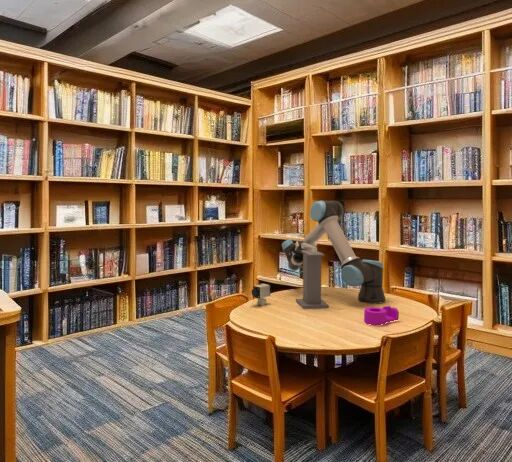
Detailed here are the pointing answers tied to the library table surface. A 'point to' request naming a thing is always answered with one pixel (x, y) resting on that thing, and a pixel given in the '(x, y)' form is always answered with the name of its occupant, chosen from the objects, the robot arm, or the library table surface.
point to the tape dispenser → (380, 315)
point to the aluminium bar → (309, 248)
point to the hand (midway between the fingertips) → (306, 243)
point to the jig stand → (312, 281)
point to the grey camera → (261, 293)
